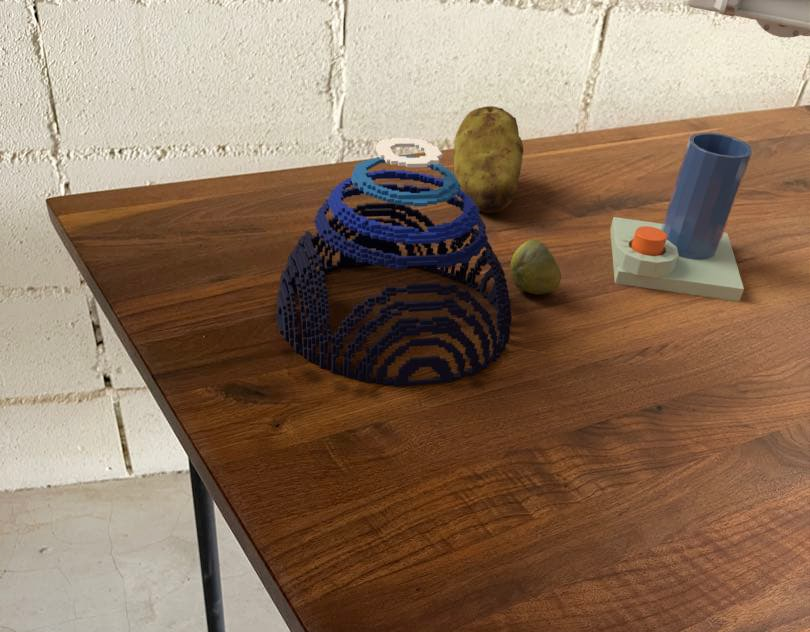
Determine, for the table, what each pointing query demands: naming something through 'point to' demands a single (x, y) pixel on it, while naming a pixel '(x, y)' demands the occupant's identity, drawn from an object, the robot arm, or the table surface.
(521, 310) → the table surface
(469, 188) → the potato
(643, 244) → the tare button
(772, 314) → the table surface
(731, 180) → the cup
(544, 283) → the green mango
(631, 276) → the scale
